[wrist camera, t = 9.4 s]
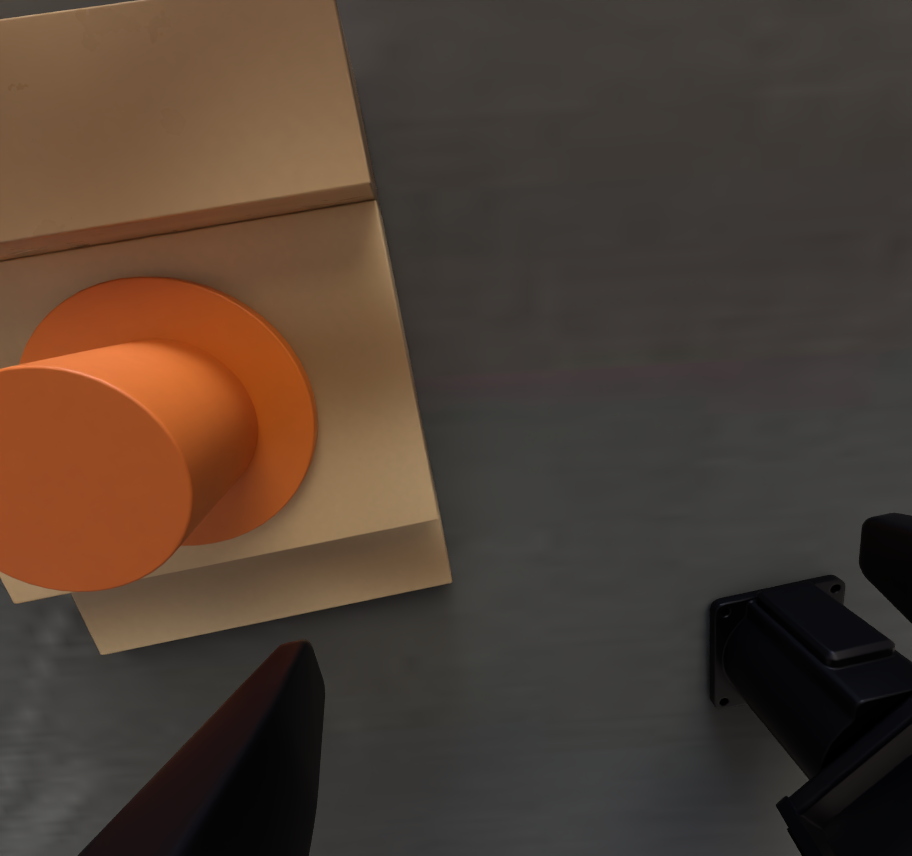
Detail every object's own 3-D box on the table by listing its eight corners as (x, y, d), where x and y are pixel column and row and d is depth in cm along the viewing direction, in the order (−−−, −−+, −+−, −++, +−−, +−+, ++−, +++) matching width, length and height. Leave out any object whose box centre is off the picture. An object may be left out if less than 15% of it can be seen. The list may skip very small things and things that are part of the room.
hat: (345, 510, 15) (317, 613, 11) (96, 558, 15) (-51, 689, 10) (277, 254, 13) (201, 236, 8) (-22, 304, 13) (-290, 316, 8)
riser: (449, 562, 20) (465, 658, 15) (122, 629, 20) (20, 753, 14) (355, 81, 15) (329, -28, 10) (-103, 150, 14) (-397, 72, 9)
